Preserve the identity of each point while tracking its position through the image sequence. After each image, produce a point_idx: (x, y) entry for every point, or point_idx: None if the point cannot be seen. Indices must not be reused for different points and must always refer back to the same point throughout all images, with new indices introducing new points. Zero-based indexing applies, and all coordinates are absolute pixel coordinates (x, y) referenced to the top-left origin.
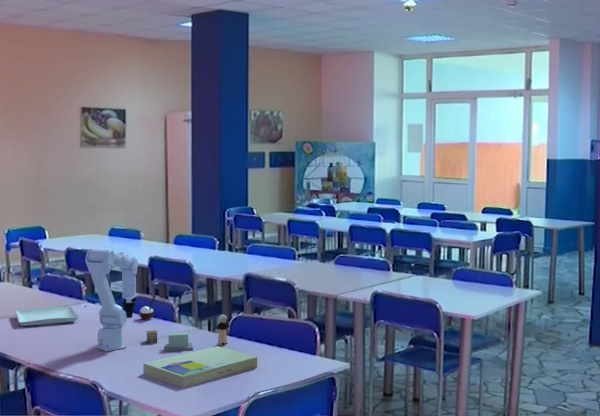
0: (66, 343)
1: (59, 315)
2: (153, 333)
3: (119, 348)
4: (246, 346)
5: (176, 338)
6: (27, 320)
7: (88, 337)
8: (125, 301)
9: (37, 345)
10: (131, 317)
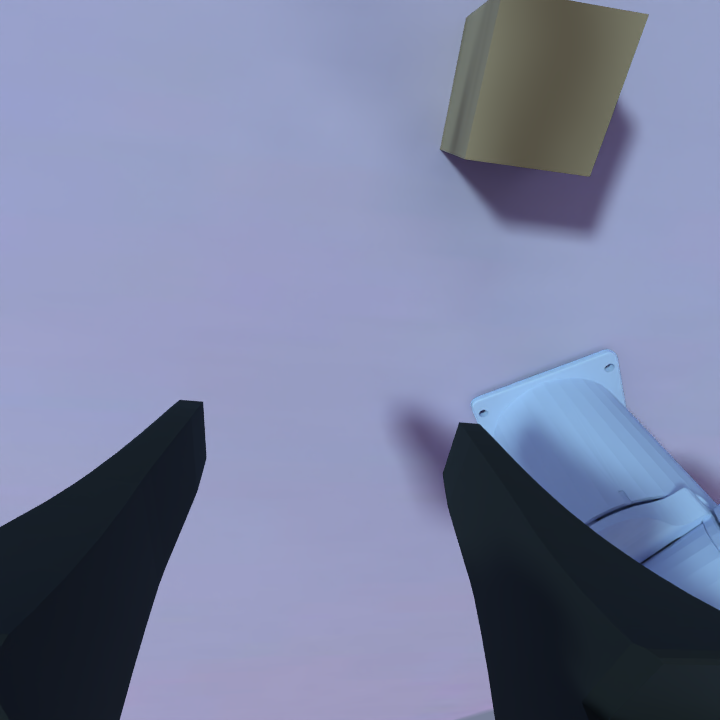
0: (335, 607)
1: None
2: (621, 79)
3: (623, 396)
4: None
5: None
6: None
7: (214, 532)
8: (119, 703)
9: (338, 678)
10: (481, 430)
